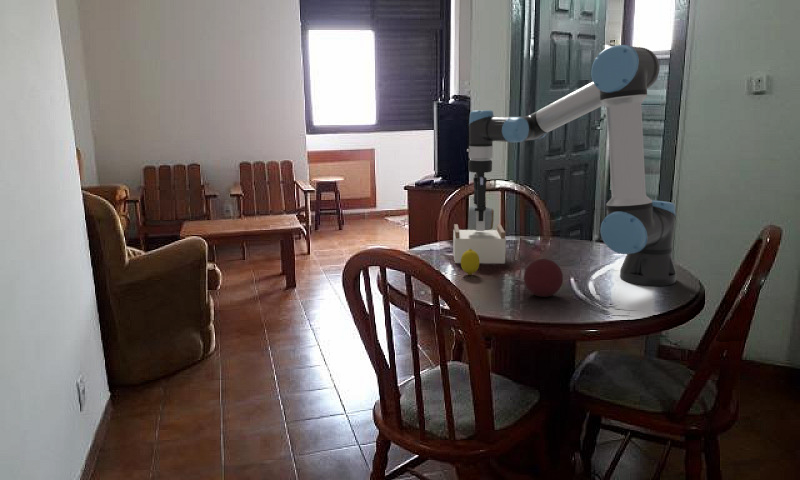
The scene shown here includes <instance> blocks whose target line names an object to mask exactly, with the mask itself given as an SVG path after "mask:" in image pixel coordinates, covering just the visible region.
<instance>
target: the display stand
mask: <svg viewBox="0 0 800 480" xmlns="http://www.w3.org/2000/svg"><path fill="white" fill-rule="evenodd" d="M452 237H453V238H452V239H453V240H452V242H453V243H452V244H453V247H452V255H453V260H454V261H455V262H454V264H461V257H462V255H463V253H464V252H465V251H467V250H469V249H472V250H473V251H475V252H476V253H477V254H478V256H479V262H480V263H479V264H506V247H507V246H506V245H507V244H506V242H507V241H506V240H507V238H506V231H505V230H504V228H503V226H502V224H497V225H496V229H491V230H485V231H476V230H468V229H460V228H459V225H458V224H457V223H456V224H455V223H454V224H453V235H452Z"/></svg>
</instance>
